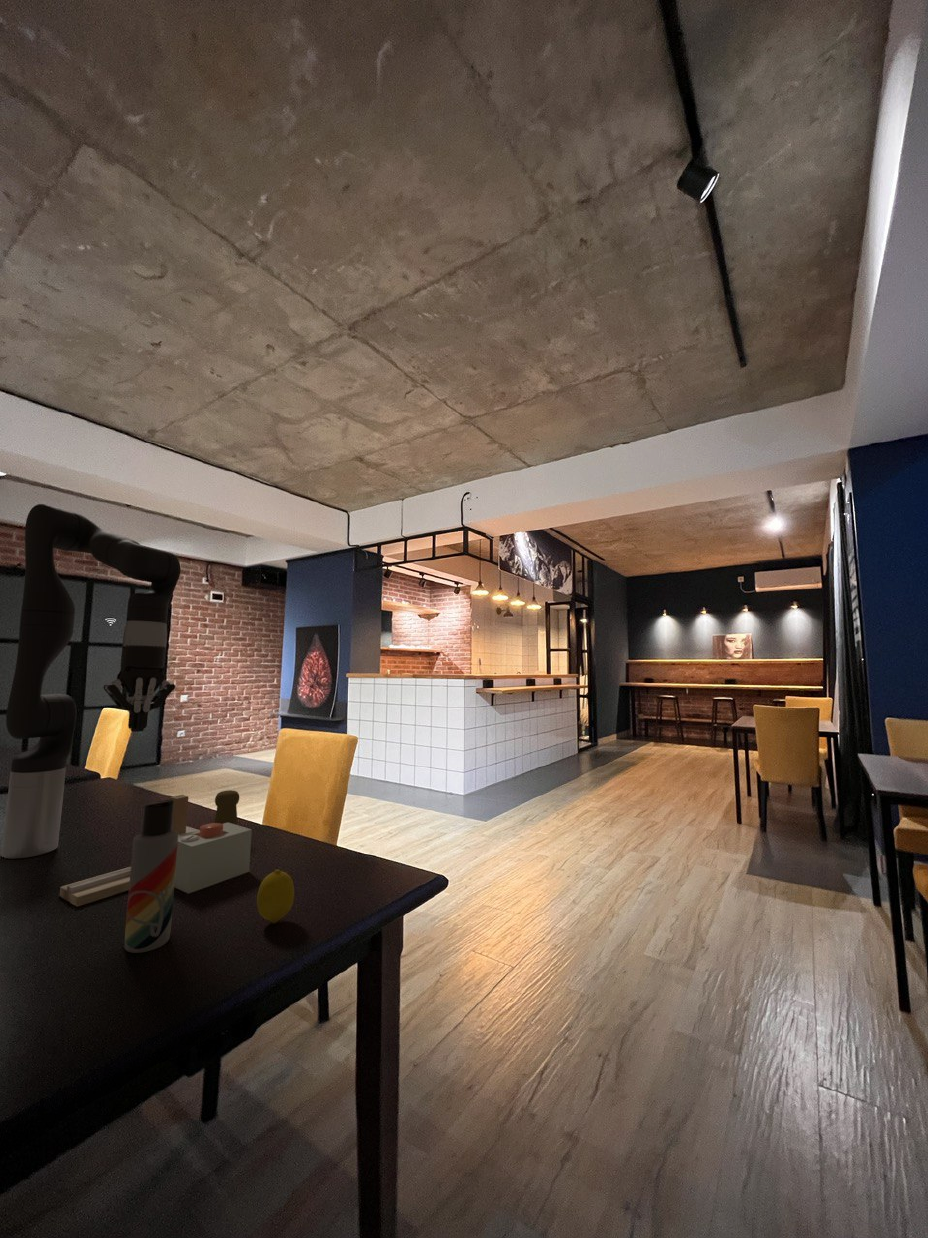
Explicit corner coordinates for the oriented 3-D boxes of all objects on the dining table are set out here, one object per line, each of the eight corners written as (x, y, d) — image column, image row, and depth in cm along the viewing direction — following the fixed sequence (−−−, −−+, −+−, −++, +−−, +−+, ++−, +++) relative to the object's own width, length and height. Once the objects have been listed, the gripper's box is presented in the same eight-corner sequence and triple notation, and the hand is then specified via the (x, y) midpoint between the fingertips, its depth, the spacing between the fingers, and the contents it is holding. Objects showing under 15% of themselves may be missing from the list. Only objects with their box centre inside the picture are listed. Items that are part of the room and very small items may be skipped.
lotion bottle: (135, 958, 68) (148, 807, 70) (116, 946, 71) (129, 801, 73) (178, 940, 73) (188, 799, 75) (157, 929, 76) (168, 794, 78)
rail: (59, 896, 86) (62, 868, 87) (200, 853, 107) (202, 831, 108) (76, 906, 82) (79, 878, 83) (219, 860, 103) (221, 838, 104)
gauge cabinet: (164, 882, 92) (168, 835, 93) (225, 862, 102) (228, 820, 103) (188, 893, 88) (192, 844, 89) (249, 871, 98) (251, 827, 99)
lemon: (300, 918, 80) (302, 866, 81) (276, 935, 75) (279, 879, 76) (271, 912, 82) (274, 861, 83) (247, 928, 77) (250, 873, 78)
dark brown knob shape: (227, 845, 112) (230, 795, 114) (203, 843, 114) (207, 793, 115) (244, 837, 118) (247, 789, 119) (221, 834, 119) (225, 787, 121)
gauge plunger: (193, 859, 95) (195, 827, 95) (213, 853, 98) (215, 822, 99) (205, 864, 93) (207, 830, 93) (225, 857, 96) (227, 825, 97)
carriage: (148, 855, 98) (153, 798, 99) (184, 845, 104) (188, 791, 105) (164, 862, 95) (169, 802, 96) (200, 851, 101) (204, 795, 102)
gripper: (168, 646, 109) (161, 727, 107) (99, 642, 98) (90, 732, 96) (187, 646, 105) (180, 730, 103) (117, 642, 94) (108, 736, 92)
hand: (136, 731), depth 99 cm, fingers closed
